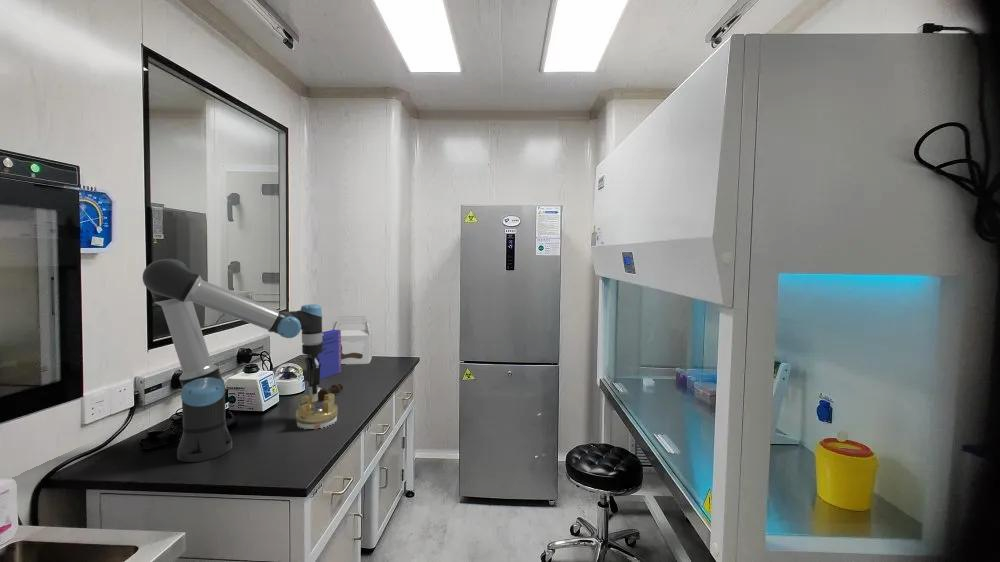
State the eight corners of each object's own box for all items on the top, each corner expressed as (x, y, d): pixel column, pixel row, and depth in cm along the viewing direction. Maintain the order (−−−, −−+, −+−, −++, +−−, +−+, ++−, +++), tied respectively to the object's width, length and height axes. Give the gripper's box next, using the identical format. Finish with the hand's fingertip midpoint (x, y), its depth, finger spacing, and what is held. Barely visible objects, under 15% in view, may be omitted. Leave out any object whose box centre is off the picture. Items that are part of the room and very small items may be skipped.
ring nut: (315, 426, 158) (315, 407, 158) (287, 419, 165) (286, 401, 164) (346, 413, 172) (345, 395, 172) (318, 407, 178) (318, 390, 178)
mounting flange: (311, 432, 158) (311, 427, 158) (289, 424, 166) (289, 418, 166) (344, 420, 170) (344, 415, 170) (322, 412, 178) (322, 408, 178)
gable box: (372, 358, 272) (371, 314, 270) (369, 363, 259) (369, 317, 257) (335, 359, 268) (334, 315, 266) (330, 365, 255) (330, 318, 253)
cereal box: (334, 371, 241) (333, 329, 240) (341, 372, 239) (340, 329, 238) (311, 380, 225) (310, 334, 223) (318, 381, 223) (317, 335, 222)
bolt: (341, 394, 208) (324, 404, 193) (333, 389, 208) (315, 398, 193) (347, 384, 207) (330, 393, 192) (338, 378, 208) (321, 387, 193)
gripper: (327, 344, 169) (328, 403, 170) (317, 339, 179) (318, 394, 180) (307, 347, 164) (308, 407, 166) (298, 341, 174) (299, 398, 176)
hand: (313, 401), depth 173 cm, fingers closed
